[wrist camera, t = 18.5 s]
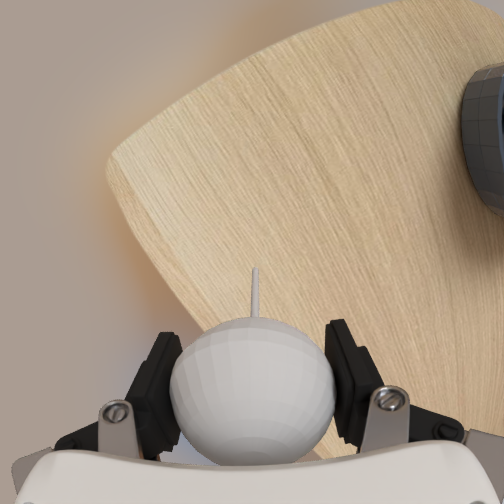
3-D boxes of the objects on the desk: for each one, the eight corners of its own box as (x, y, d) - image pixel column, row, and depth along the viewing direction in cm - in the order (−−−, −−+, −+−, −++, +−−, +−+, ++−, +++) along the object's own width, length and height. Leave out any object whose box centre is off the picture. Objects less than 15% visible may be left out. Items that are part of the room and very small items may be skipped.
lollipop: (312, 280, 21) (380, 460, 7) (247, 320, 23) (238, 506, 8) (263, 211, 20) (281, 358, 6) (196, 259, 21) (111, 432, 7)
